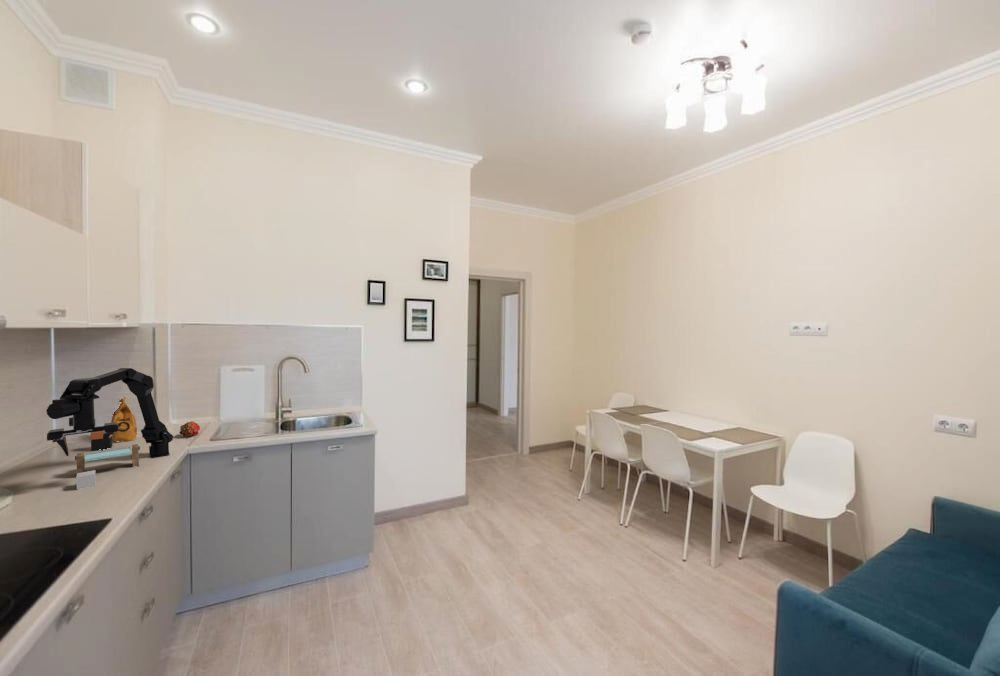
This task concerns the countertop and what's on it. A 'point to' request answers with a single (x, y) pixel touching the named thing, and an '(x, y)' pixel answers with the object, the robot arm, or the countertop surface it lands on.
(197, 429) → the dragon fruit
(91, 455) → the trapdoor
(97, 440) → the battery
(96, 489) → the countertop surface
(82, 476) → the grey cube
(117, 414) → the coffee package
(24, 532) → the countertop surface
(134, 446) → the trapdoor frame
